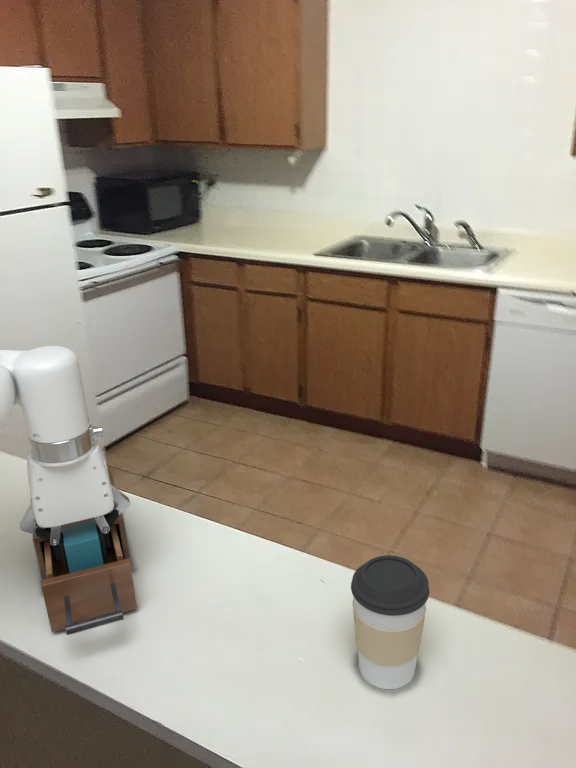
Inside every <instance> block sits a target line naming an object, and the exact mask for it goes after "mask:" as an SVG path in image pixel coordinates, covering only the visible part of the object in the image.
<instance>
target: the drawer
mask: <svg viewBox="0 0 576 768" xmlns="http://www.w3.org/2000/svg"><path fill="white" fill-rule="evenodd" d="M108 534H109V539H110V545H111V548H108V549H106V552H107V557H108V558H103V563H104V564H103V565H100V566H96V567H92V568H88V569H84V570H80V571H76V572H72V573H70V571H69V567H68V568H65V569H64V567H63V563H62V560H60V561H57V559H56V555H55V550H54V546H53V545H51V544H50V542H49V541H44V551H45V564H46V575H47V579H45V580H42V579H41V580H40V587H41V592H42V596H43V600H44V604H45V609H46V614H47V619H48V622H49V626H50V631H51V632H52V633H54V632H56V631H61V630H64V629H65V634H66V636H71V635H73V634H78V633H80V632H84V631H87V630H88V631H89V630H92V629H95V628H98V627H102V626H105V625H109V624H113V623H116V622H119V621H123V620H124V619H125V618H124V617H125V615H124V613H125V612H129V611H133V610H137V609H138V603H137V595H136V591H135V585H134V577H133V572H132V570H131V568H132V564H131V565H130V562H131V559H130V560H129V558H128V559H124V560H123V555H122V551H121V547H120V543H119V539H118V534H117V530H116V526H115V525H112V526H111V527H110V531H109V532H108Z"/></svg>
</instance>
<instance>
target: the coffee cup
mask: <svg viewBox="0 0 576 768" xmlns="http://www.w3.org/2000/svg"><path fill="white" fill-rule="evenodd" d="M350 590H351V594H352V596H353V597H352V598H353V599H352V614H353V624H354V636H355V645H356V648H357V656H358V657H357V658H358V665H359V666H358V667H359V668H358V669H359V672H360V675H361V677H362V678H363V679H364V681H366V682H367V683H368V684H369V685H371V686H373V687H376V688H378V689H382V690H397V689H401V688H403V687H404V686H407V685H408V684H409V683H411V681H412V680H413V679H414V676H415V673H416V668H417V661H418V654H419V652H420V648H421V641H422V636H423V631H424V624H425V618H426V612H427V605H426V603H427V601H428V600H429V597H430V587H429V580H428V576H427V575H426V573H425V571H424V570H422V569H421V568H420V567H419V566H417V565H416V564H415V563H414V562H413V561H411V560H409V559H407V558H405V557H402V556H398V555H392V554H391V555H390V554H387V555H380V556H375V557H373V558H371V559H369V560H368V561H366V562H365V563H363V564H361V565H360V566H359V567H358V568H356V570H355V572H354V573H353V575H352V578H351V583H350Z"/></svg>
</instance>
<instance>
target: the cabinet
mask: <svg viewBox="0 0 576 768" xmlns="http://www.w3.org/2000/svg"><path fill="white" fill-rule="evenodd" d="M107 469H108V474H109V478H110V483H111V485H113V486H114V487H115V488H116V485H115V481H114V478H113V477H114V476H113V473H112V469H111V467H107ZM31 502H32V500H31V499H30V503H31ZM115 503H116V502H115V501H114V504H115ZM93 520H95V519H94V518H90V519H86V520H81V521H77V522H73V523H69V524H64V525H61V533H62V528H63V527H67V526H72V525H76V524H80V523H84V522H89V521H93ZM35 522H36V519H35ZM95 522H96V521H95ZM96 525H97V523H96ZM112 525H115V526H116V530H117V534H118V539H119V543H120V547H121V551H122V555H123V560H124V559H128V558H129V560H130V565H131V566H132V562H131V556H130V551H129V543H128V537H127V531H126V525H125V519H124V514H123V512H122V513H121V514H120V515H119V517H118V518H117V520H116V521H115V522H114V523H113V524H112ZM44 541H46V540H44V539H42V538H40V537H38V536H37V535H36V534H32V543H33V547H34V551H35V556H36V559H37V563H38V569H39V572H40V577H41V580H45V579H47V575H46V564H45V551H44ZM132 570H133V568H132V567H131V571H132Z"/></svg>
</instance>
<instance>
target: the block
mask: <svg viewBox="0 0 576 768" xmlns="http://www.w3.org/2000/svg"><path fill="white" fill-rule="evenodd" d="M62 533H63V541H64V548H65V553H66V557H67V562H68V567H69V571H70V573H72V572H76V571H80V570H84V569H88V568H92V567H96V566H100V565H103V564H104V563H103V558H102V553H101V547H100V542H99V537H98V532H97V527H96V522H95V520H93V521H89V522H84V523H80V524H76V525H72V526H67V527H63V528H62Z"/></svg>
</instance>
